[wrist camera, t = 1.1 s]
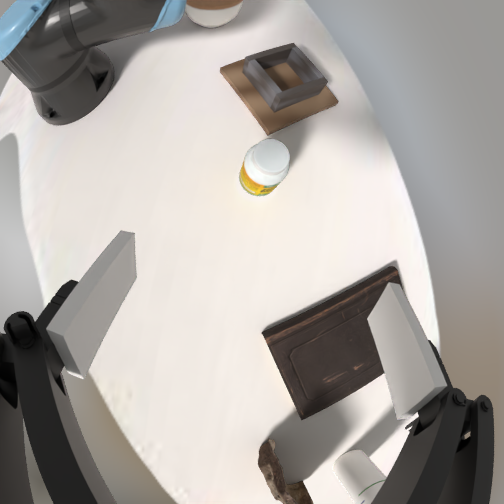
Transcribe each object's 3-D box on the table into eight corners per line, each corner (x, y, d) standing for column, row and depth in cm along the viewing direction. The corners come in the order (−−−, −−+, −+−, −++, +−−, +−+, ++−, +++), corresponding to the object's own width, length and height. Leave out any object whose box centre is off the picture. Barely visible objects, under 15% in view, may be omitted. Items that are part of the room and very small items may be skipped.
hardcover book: (409, 346, 42) (416, 349, 40) (297, 413, 39) (301, 420, 36) (388, 266, 41) (396, 266, 39) (260, 331, 38) (263, 335, 36)
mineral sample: (303, 481, 38) (329, 534, 23) (284, 489, 37) (305, 543, 22) (270, 431, 37) (295, 493, 22) (247, 440, 37) (264, 505, 22)
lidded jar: (173, 18, 36) (170, -16, 27) (218, 0, 38) (221, -32, 28) (204, 42, 37) (205, 5, 28) (251, 23, 38) (259, -11, 29)
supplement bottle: (259, 153, 38) (273, 124, 28) (284, 181, 38) (306, 159, 29) (230, 176, 37) (237, 151, 28) (256, 205, 38) (271, 188, 28)
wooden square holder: (220, 71, 37) (221, 52, 32) (288, 49, 39) (296, 31, 34) (267, 135, 38) (275, 119, 33) (335, 105, 40) (348, 90, 35)
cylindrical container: (327, 476, 39) (382, 559, 14) (340, 450, 39) (409, 535, 14) (356, 472, 40) (416, 544, 15) (370, 447, 40) (441, 519, 15)
